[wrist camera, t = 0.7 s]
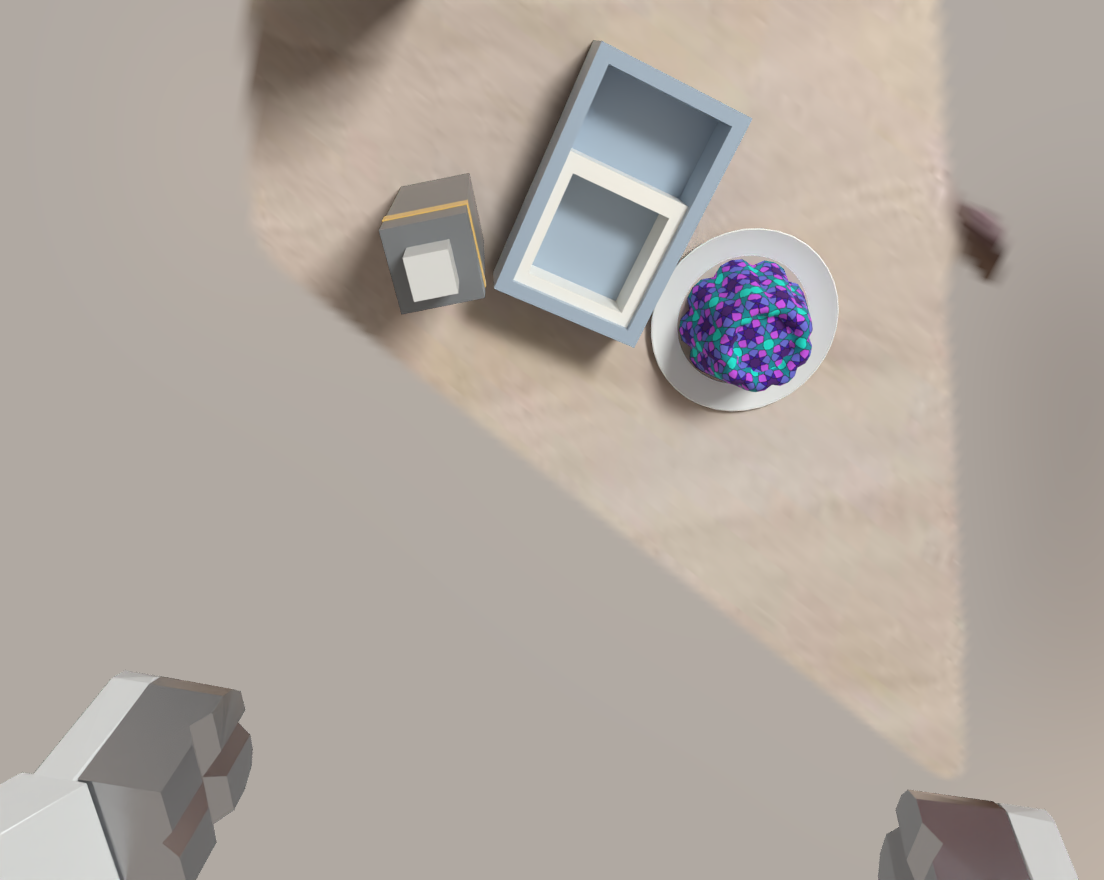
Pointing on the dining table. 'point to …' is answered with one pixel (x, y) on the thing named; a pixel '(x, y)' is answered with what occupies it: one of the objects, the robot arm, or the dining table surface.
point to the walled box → (617, 194)
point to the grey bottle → (435, 244)
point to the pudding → (745, 320)
